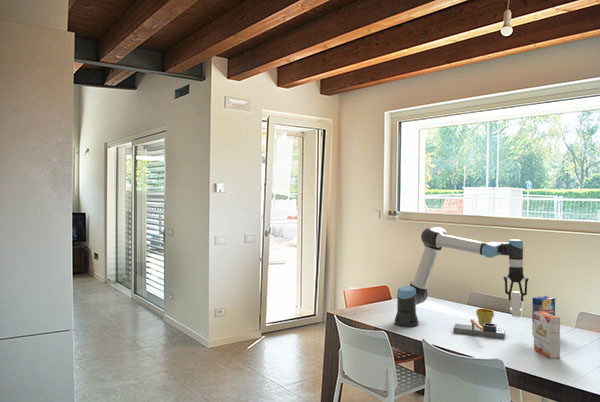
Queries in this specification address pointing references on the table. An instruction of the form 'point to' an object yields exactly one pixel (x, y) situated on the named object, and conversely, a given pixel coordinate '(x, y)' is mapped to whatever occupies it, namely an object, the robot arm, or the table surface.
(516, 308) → the plug
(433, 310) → the table surface
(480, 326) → the orange rectangular bar
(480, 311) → the plant pot
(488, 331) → the power strip
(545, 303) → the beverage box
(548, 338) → the cracker box
